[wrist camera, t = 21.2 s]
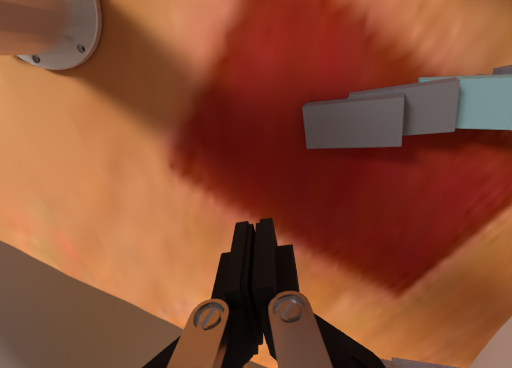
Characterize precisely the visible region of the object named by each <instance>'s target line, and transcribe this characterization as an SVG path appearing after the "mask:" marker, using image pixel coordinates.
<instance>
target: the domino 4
mask: <svg viewBox="0 0 512 368" xmlns="http://www.w3.org/2000/svg"><path fill="white" fill-rule="evenodd" d="M504 74H512V65H509V66H504V67H498V68H494V69H493V75H504Z"/></svg>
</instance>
